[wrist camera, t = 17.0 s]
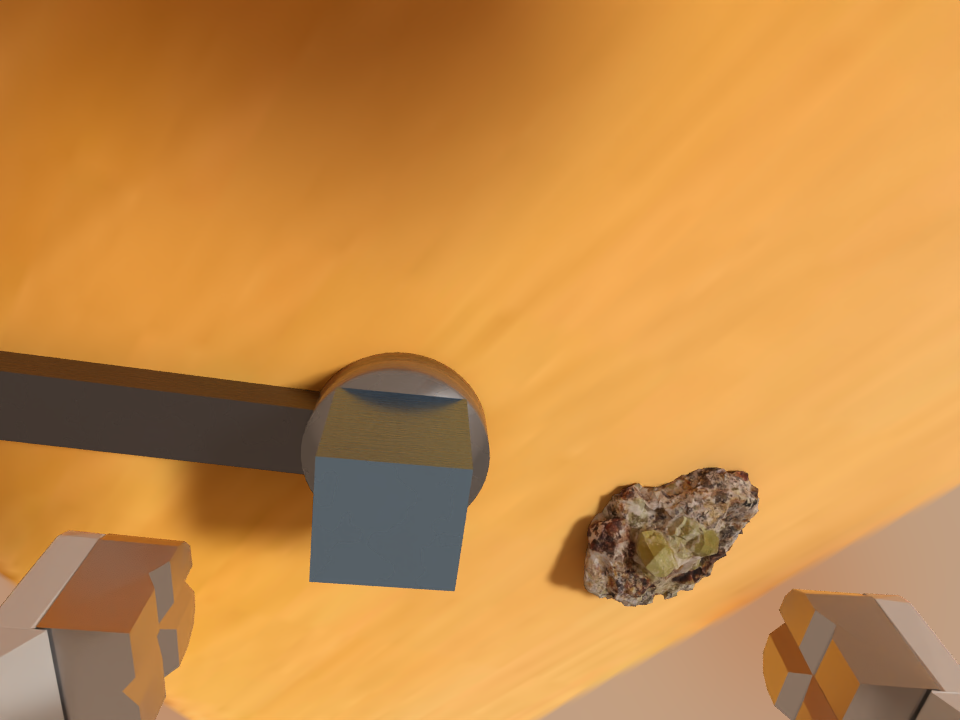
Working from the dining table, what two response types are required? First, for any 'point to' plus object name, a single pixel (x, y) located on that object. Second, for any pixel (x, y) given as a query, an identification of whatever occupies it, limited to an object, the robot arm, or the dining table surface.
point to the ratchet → (206, 410)
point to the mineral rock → (666, 535)
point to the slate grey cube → (391, 490)
